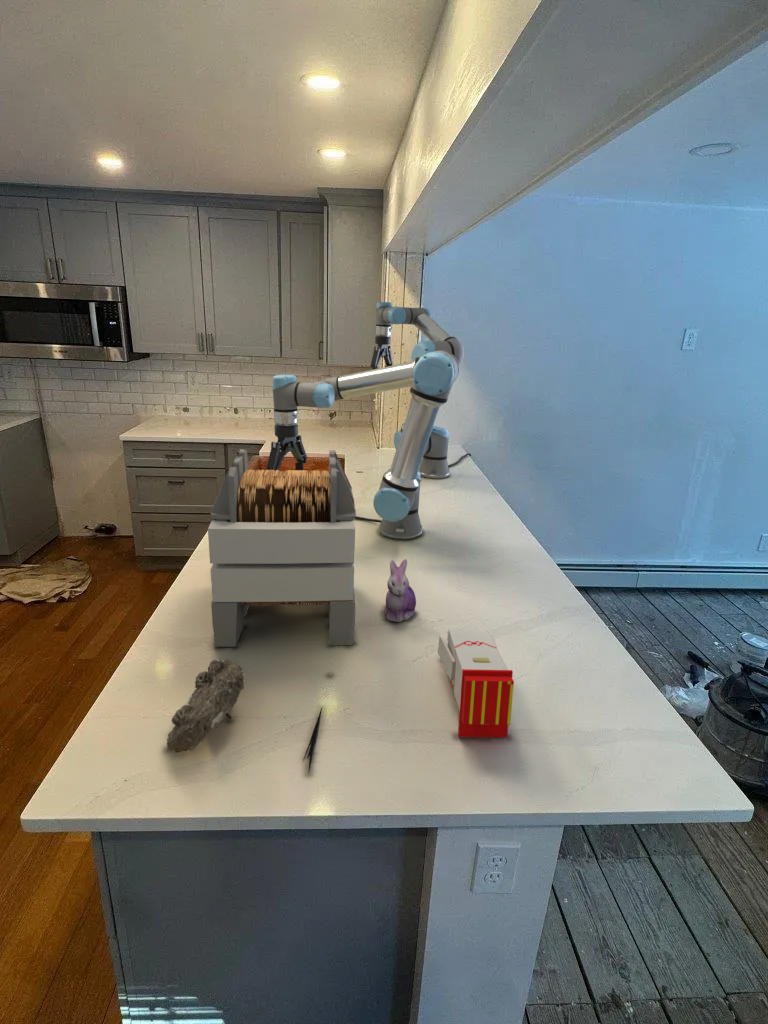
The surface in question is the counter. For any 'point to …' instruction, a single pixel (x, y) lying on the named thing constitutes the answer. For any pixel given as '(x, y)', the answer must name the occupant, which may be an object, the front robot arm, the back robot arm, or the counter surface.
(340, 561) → the transformer
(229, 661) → the fossil
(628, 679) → the counter surface
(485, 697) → the toy
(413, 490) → the front robot arm
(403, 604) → the figurine
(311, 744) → the feather
